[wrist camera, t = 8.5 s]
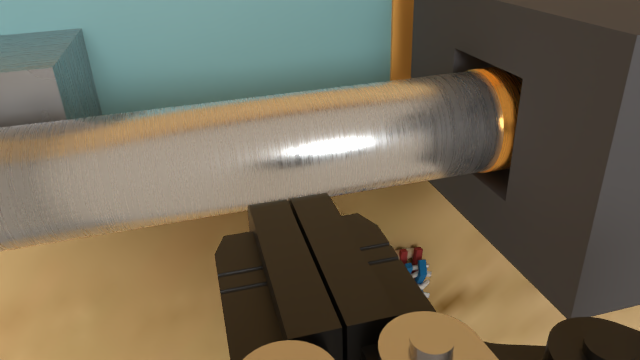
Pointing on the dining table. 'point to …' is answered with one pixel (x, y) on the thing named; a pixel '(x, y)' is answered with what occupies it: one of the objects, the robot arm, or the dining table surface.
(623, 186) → the tall grey rectangular prism
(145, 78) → the base board
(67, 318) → the dining table surface
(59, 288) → the dining table surface
